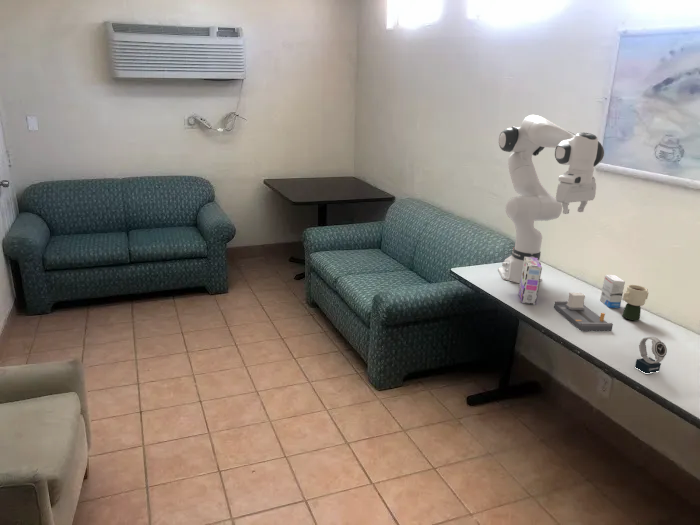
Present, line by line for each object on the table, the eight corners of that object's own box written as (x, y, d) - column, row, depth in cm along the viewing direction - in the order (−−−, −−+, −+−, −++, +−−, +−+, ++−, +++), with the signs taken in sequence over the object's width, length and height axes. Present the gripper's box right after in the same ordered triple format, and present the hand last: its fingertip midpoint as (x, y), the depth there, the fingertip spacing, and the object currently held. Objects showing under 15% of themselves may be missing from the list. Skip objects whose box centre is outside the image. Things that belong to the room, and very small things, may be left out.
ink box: (620, 308, 226) (626, 281, 222) (608, 307, 226) (614, 281, 222) (610, 300, 234) (616, 274, 231) (599, 300, 234) (604, 274, 231)
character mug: (635, 314, 220) (642, 284, 217) (648, 321, 214) (656, 290, 210) (612, 315, 218) (619, 284, 214) (624, 323, 211) (632, 291, 207)
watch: (651, 377, 170) (659, 345, 167) (630, 365, 177) (637, 334, 174) (664, 375, 172) (672, 343, 169) (643, 363, 179) (650, 332, 176)
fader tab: (564, 305, 219) (567, 292, 217) (579, 306, 220) (581, 292, 218) (569, 309, 215) (572, 295, 213) (584, 309, 216) (587, 296, 214)
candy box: (536, 305, 224) (542, 266, 219) (521, 303, 225) (527, 265, 220) (532, 293, 237) (538, 257, 232) (518, 292, 238) (524, 255, 233)
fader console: (553, 307, 222) (555, 296, 221) (581, 308, 224) (583, 296, 222) (580, 331, 201) (583, 318, 200) (611, 331, 203) (614, 318, 201)
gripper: (588, 174, 217) (581, 209, 221) (556, 176, 206) (549, 212, 210) (603, 177, 212) (596, 212, 216) (570, 179, 201) (564, 216, 205)
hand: (573, 212), depth 213 cm, fingers open, 8 cm apart
